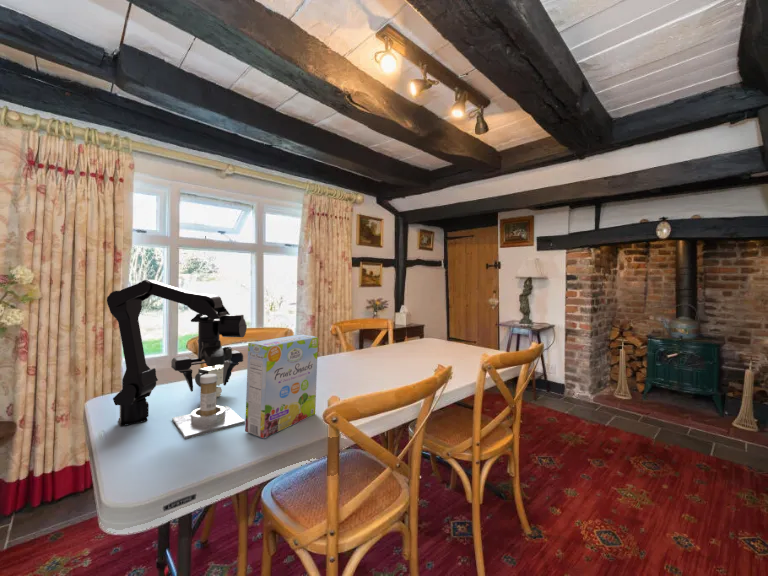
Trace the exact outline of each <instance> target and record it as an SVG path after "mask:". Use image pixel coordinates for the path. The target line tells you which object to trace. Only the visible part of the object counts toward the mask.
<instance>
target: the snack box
mask: <svg viewBox="0 0 768 576" xmlns="http://www.w3.org/2000/svg"><path fill="white" fill-rule="evenodd" d="M247 344H248V346H247V366H246V367H247V368H246V370H247V371H246V372H247V373H246V394H245V396H246V398H245V417H244V418H245V419H244V420H245V424H244V432H246V433H248V434H251V435H253V436H255V437H258V438H261V439H266V438H267V437H270V436H271V435H274V434H276V433H278V432H281V431H282V430H284V429H287V428H288V427H291V426H293V425H295V424H297V423H299V422H301V421H303V420H306V419H307V418H310V417H312V416H314V415H316V407H317V406H316V404H317V376H318V374H317V373H318V354H319V353H318V350H319V337H317V336H314V335H307V334H301V333H300V334H296V335H295V334H294V335H289V336H282V337H277V338H270V339H264V340H259V341H253V342H248V343H247Z"/></svg>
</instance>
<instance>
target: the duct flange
mask: <svg viewBox="0 0 768 576" xmlns="http://www.w3.org/2000/svg"><path fill="white" fill-rule="evenodd" d="M172 422H173V424H174V425H175V426H176V428H177V430H179V432H180V433H181V435H182V437H183V438H184V439H185V440H186V439H189V438H190V439H191V438H195V437H198V436H202V435H206V434H210V433H214V432H218V431H221V430H225V429H229V428H232V427H236V426H242V425H245V419H243V418H242V417H241V416H240V415H239V414H238V413H237V412H235V411H234V409H232V408H230V406H228V405H225V406H222V405H216V414H212V415H206V416H200V407H199V408H195V409H194V410H192V411H191V413H188V414H183V415H179V416H173V417H172Z"/></svg>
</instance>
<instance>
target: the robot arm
mask: <svg viewBox="0 0 768 576" xmlns="http://www.w3.org/2000/svg"><path fill="white" fill-rule="evenodd" d="M151 296H155V297H158V298H162V299H165V300H168V301H172V302H175V303H178V304H181V305H184V306H186V307H188V309H190V310H191V311H193V312H195V313H196V314H195V316H194V317H192V318H191V319H190V322H191V323H198V324H197V325H198V327H197V328H198V329H197V331H198V339H197V345H198V347H197V349H198V350H197V352H198V353H197V357H195V358H194V357H193V358H190V357H189V356H187V355H186V356H177V357H173V358H172V359H171V364H170V365H171V368H172V369H173V370H174V371H175V372H176V371H177V372H179V373H180V374H182V375H183V377H184V378H185V381H186V383H187V386H188V388H189V390H190V392H193V391H194V384H193V383H194V382H193V369H191V367H192V366H194V365H195V366H196V365H203V364H205V365H206V367H212V366H215V365H223V384H222V385H223V386H227V383H228V382H229V380H228V378H229V376H230V373H231V374H232V371H233V369H234V368H235V367H236V366H238V365H239V363H243V362H244V354H243V353H242V352H240V351H239V350H235V349H234V350H233V347H231V346H224V347H222V345H221V344H222V342H221V340H220V337H222V338H244V337H245V336H246V333H247V328H248V327H247V323H246V320H245V318H244V314H236V315H235V314H231V313H229V311H228V310H227V308H226V307H225V305H224V303H223V300H222V298H221V297H220V295H216V294H211V293H210V294H209V293H201V292H200V293H199V292H193V291H189V290H187V289H183V288H180V287H176V286H173V285H169V284H165V283H162V282H159V281H158V280H156V279H144V280H143V279H142V281H140V282H138V283H135V284H133V285H130V286H128V287H126V288H123V289H120V290H114V291H112V292H110V293H109V294H108V295H107V297H106V304H107V306H108V309H109V313H110V314H111V315H112V316H113V317H114V319H115V320H116V321H117V323H118V330H119V334H120V340H121V346H122V351H123V358H124V362H125V371H124V375H123V378H122V379H121V380H122V381H121V383H122V389H121V390H120V391H119V392H118V393H117V394H116V395H115V396H114V397H113V398H112V400H113V402H114V405H115V406H119V418H118V423H119V425H120V427H125V426H129V425H133V424H140V423H143V422H147V421H148V418H149V402H148V401H147V397H150V396H151V394H152V391H153V390H155V388H156V386H157V381H159V379H158V378H157V370H156V368H151V367H149V366H148V364H147V362H146V355H145V350H144V343H143V339H142V335H141V334H142V333H141V327H140V321H139V317H140V314H141V312H142V306H143V302H144V301H146V300H148V299H149V298H150V297H151ZM230 377H231V376H230ZM227 381H228V382H227Z"/></svg>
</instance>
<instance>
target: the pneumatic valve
mask: <svg viewBox="0 0 768 576" xmlns="http://www.w3.org/2000/svg"><path fill="white" fill-rule="evenodd" d="M205 374H216V375H217V382H216V398H218V397H221V396H222V391H223V389H222V387H221V385H223V365H215V366H212V367H209V366H206V367H202V368H198V372H197V373H196V375H195V376H194V380H195V384H196V385H197V386H198V387H200V388H201V384H200V376H202V375H205ZM231 376H232V372H231V373H230V376H229V378H228V381H227V383H229V380H230V377H231Z"/></svg>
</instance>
